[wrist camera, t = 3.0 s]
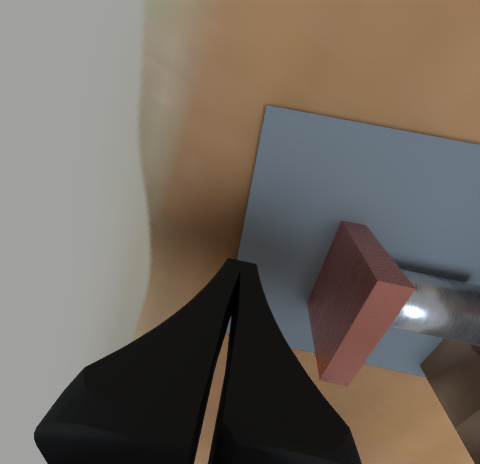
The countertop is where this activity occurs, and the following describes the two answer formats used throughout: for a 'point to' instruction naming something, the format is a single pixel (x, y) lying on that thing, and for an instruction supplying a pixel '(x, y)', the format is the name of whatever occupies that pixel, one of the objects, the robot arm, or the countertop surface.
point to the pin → (380, 304)
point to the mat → (358, 214)
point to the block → (458, 388)
